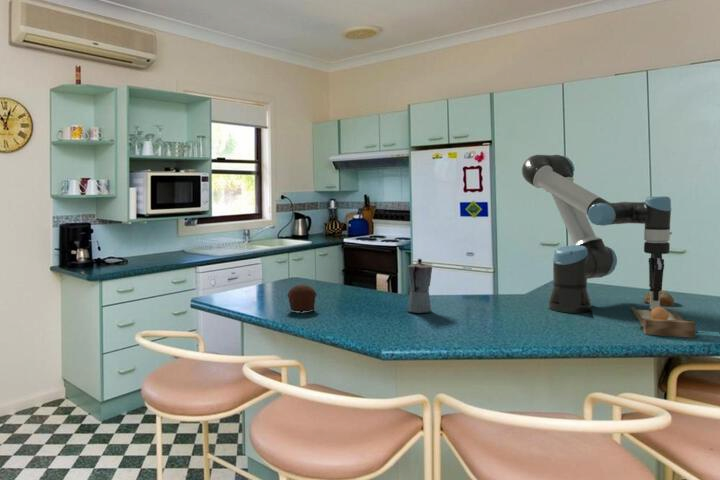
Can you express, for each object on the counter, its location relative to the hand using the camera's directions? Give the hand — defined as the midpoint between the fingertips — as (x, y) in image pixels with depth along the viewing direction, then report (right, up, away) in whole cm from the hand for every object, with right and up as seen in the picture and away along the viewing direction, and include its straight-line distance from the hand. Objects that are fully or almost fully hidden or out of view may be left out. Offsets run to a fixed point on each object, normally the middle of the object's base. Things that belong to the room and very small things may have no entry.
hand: (654, 309), depth 172 cm
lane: (-3, -4, -9) cm, 10 cm away
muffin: (-125, -4, +21) cm, 127 cm away
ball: (-6, -2, -13) cm, 15 cm away
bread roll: (+11, -1, +16) cm, 20 cm away
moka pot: (-80, -3, +16) cm, 81 cm away
